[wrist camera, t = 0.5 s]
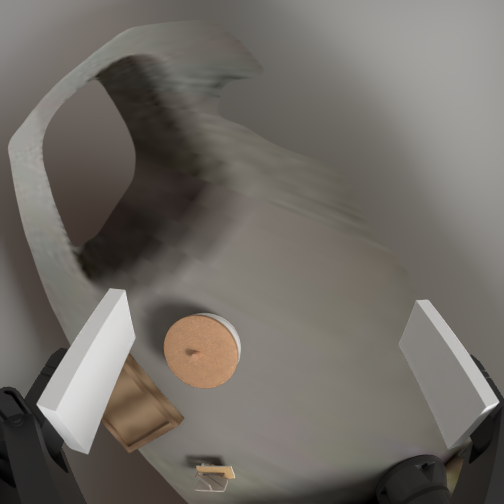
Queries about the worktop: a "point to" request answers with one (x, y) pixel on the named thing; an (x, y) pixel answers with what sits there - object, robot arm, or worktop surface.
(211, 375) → the lidded jar
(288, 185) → the worktop surface
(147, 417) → the wooden tray
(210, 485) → the architectural model
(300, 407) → the worktop surface
